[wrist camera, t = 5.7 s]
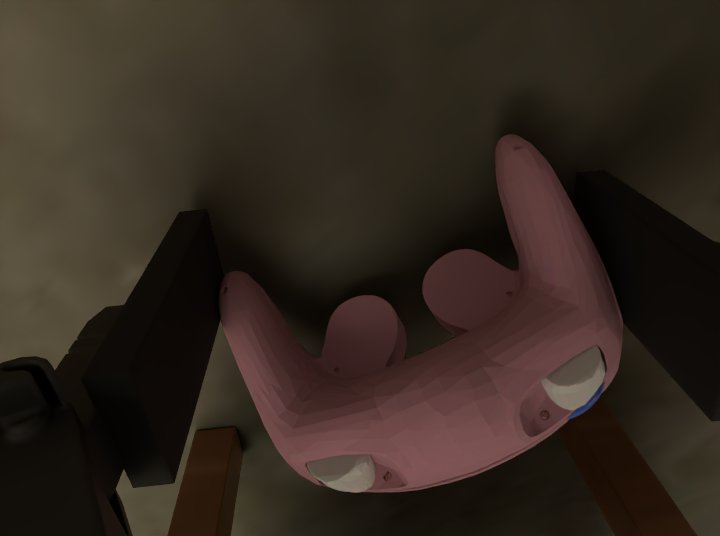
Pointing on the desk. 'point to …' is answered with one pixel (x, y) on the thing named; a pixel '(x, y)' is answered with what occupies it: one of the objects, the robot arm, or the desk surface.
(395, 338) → the video game controller
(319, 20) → the desk surface
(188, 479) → the side table
